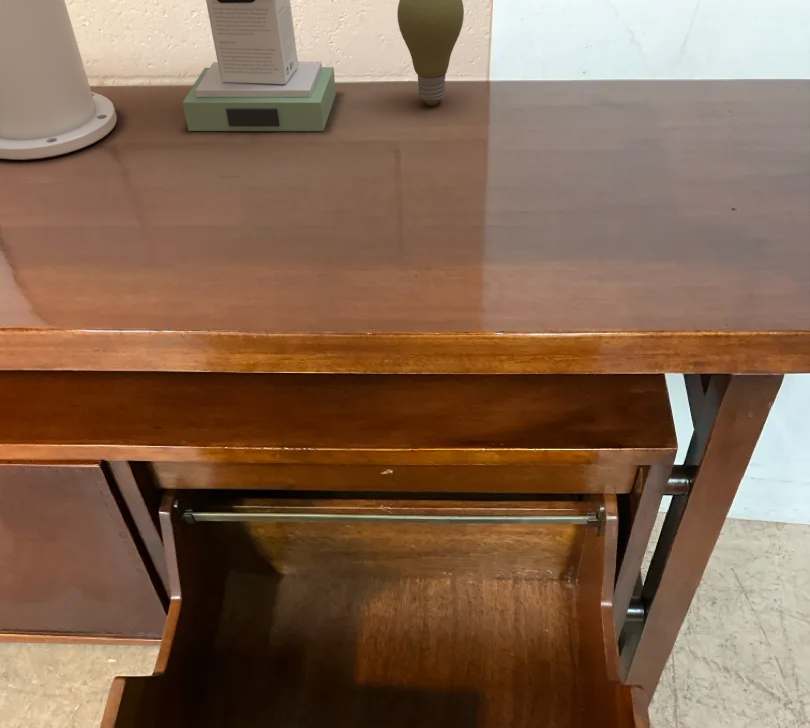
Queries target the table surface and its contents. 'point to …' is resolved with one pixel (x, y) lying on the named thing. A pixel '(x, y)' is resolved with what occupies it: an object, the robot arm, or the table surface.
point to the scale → (262, 102)
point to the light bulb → (430, 41)
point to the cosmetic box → (254, 41)
